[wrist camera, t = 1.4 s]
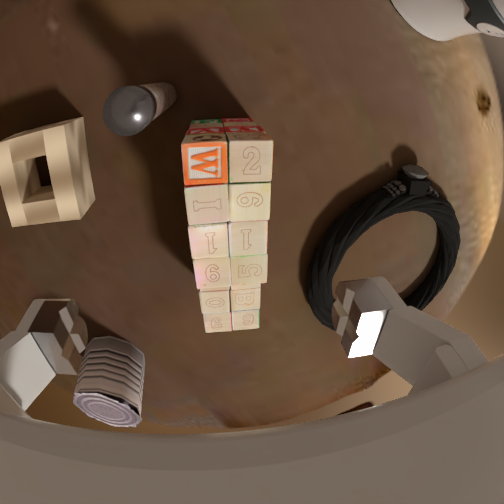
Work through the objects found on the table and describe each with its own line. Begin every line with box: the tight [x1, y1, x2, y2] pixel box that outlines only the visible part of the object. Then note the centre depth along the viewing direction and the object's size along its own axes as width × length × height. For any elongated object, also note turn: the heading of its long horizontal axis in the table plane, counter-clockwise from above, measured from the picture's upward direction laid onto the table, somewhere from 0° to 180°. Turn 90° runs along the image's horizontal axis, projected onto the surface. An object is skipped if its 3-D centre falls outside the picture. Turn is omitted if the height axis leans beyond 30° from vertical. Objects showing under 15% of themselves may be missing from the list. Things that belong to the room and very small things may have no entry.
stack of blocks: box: [181, 118, 273, 333], centre depth 30 cm, size 21×6×12 cm, turn 179°
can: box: [73, 336, 145, 427], centre depth 42 cm, size 11×11×12 cm
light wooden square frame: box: [0, 117, 95, 227], centre depth 26 cm, size 10×10×5 cm
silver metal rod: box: [103, 82, 176, 136], centre depth 21 cm, size 3×3×14 cm
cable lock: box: [307, 164, 460, 331], centre depth 41 cm, size 28×4×30 cm
